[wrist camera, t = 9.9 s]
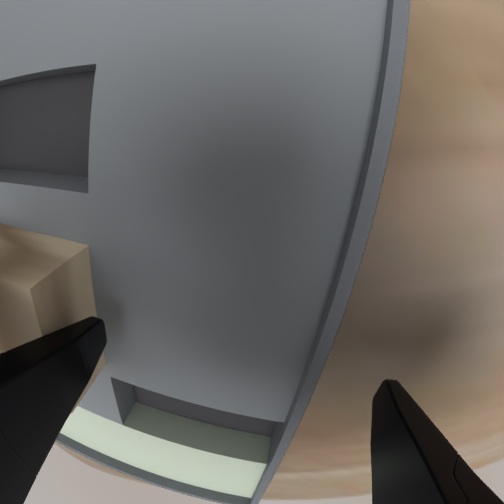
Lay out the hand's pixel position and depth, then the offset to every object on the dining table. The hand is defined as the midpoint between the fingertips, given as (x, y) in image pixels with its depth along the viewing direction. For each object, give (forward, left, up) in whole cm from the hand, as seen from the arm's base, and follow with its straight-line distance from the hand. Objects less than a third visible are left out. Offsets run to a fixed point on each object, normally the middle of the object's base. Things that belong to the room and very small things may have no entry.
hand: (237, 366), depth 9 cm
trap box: (-5, 0, -3) cm, 6 cm away
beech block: (-8, -1, -1) cm, 8 cm away
